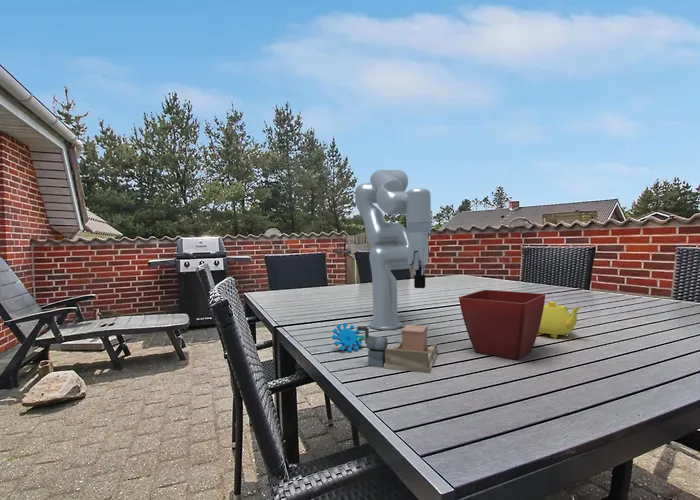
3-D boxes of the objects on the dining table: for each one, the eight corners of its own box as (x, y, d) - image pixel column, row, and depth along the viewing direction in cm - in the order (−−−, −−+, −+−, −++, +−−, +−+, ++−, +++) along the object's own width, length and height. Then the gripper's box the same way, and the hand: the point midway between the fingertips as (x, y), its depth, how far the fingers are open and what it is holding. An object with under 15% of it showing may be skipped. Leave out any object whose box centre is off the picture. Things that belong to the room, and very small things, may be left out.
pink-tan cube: (407, 347, 115) (406, 324, 114) (427, 349, 112) (427, 325, 112) (401, 354, 108) (401, 330, 108) (423, 356, 106) (423, 331, 105)
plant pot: (458, 352, 112) (457, 296, 112) (485, 339, 126) (484, 289, 126) (525, 366, 99) (524, 303, 99) (547, 349, 113) (546, 294, 113)
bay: (373, 347, 119) (373, 315, 119) (438, 353, 112) (437, 319, 112) (355, 365, 103) (354, 328, 103) (429, 372, 96) (428, 333, 96)
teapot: (596, 338, 125) (596, 303, 124) (568, 344, 118) (568, 308, 118) (541, 325, 142) (541, 295, 142) (514, 331, 136) (514, 299, 135)
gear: (335, 349, 113) (331, 321, 119) (329, 359, 117) (326, 331, 123) (369, 350, 116) (363, 322, 123) (363, 359, 120) (357, 332, 127)
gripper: (411, 229, 126) (412, 284, 126) (401, 229, 112) (402, 290, 112) (434, 229, 123) (435, 285, 123) (427, 228, 109) (428, 291, 109)
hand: (419, 287), depth 118 cm, fingers closed
